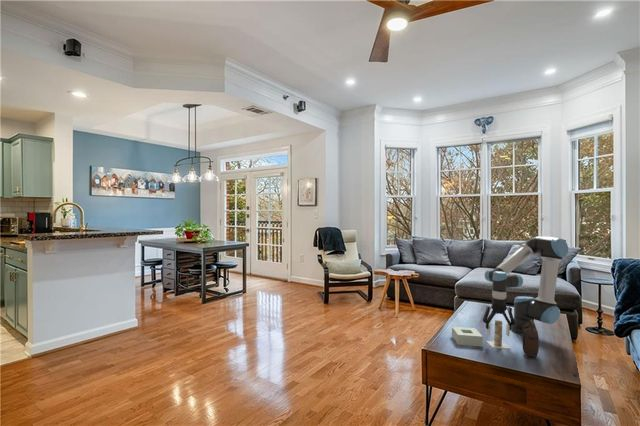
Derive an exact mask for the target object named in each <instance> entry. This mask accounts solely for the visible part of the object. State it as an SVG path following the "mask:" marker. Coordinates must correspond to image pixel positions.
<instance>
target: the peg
mask: <svg viewBox="0 0 640 426" xmlns="http://www.w3.org/2000/svg"><path fill="white" fill-rule="evenodd" d="M493 336H494V337H493V341H494V344H495V345H497V346H502V342H503V321H502V320H499V319H495V320H494V335H493Z"/></svg>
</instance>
